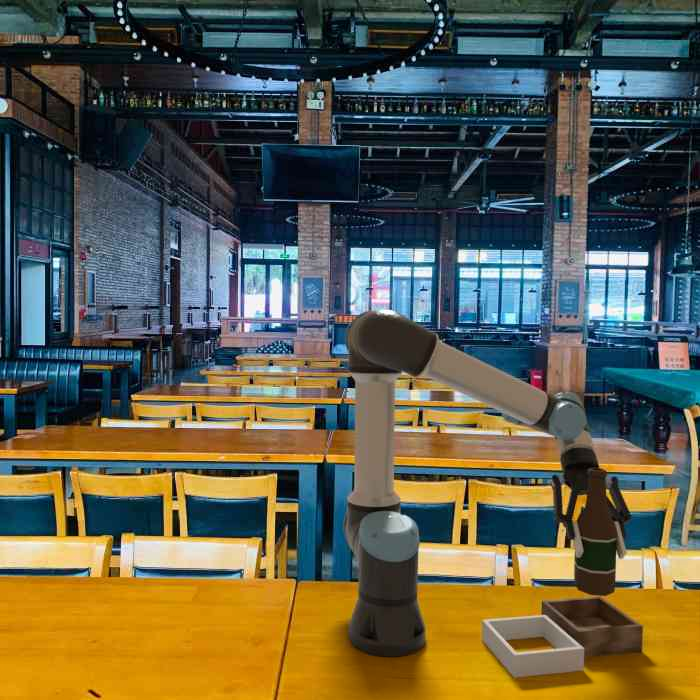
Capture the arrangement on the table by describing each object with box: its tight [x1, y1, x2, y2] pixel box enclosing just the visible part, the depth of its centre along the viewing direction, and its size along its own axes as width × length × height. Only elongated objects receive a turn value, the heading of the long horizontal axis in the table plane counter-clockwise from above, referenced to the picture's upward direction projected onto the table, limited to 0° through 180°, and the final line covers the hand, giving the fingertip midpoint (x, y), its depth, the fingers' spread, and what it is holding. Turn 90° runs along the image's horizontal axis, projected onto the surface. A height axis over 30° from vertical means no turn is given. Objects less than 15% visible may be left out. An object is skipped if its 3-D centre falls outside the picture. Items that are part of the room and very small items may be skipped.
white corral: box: [481, 614, 585, 679], centre depth 118 cm, size 14×14×4 cm
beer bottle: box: [573, 467, 617, 597], centre depth 125 cm, size 8×8×24 cm
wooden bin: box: [540, 596, 644, 659], centre depth 125 cm, size 14×14×5 cm
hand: (601, 554), depth 121 cm, fingers closed on beer bottle, 7 cm apart
